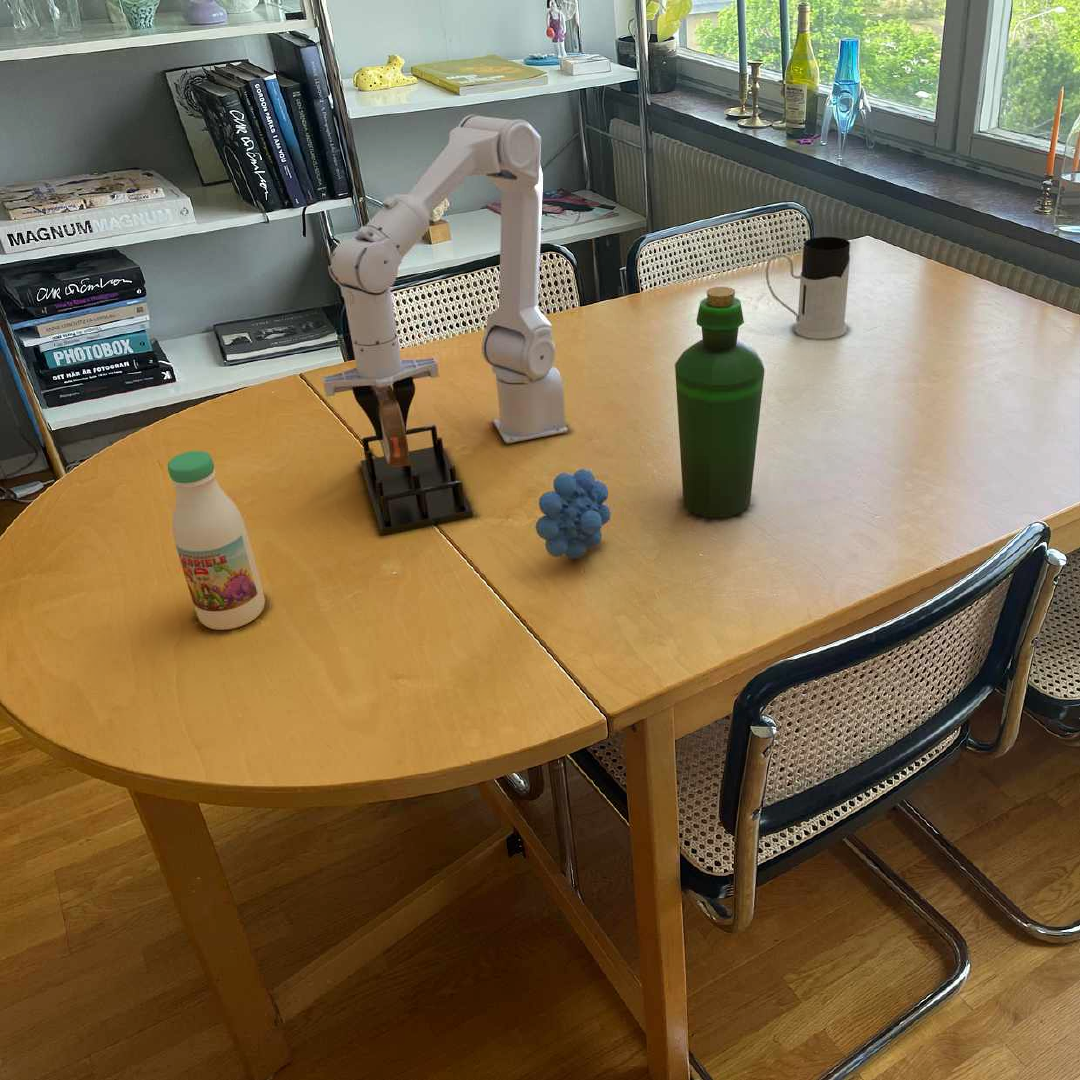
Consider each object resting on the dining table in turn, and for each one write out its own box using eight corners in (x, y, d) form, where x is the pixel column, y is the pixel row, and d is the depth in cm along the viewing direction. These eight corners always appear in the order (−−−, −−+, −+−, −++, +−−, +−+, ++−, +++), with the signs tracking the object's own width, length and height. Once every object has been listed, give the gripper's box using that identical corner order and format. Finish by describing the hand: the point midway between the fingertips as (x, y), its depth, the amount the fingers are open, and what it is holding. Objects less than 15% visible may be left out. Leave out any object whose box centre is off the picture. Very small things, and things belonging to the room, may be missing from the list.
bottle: (764, 487, 135) (775, 277, 120) (751, 529, 127) (760, 310, 112) (684, 479, 138) (684, 274, 123) (665, 520, 130) (663, 305, 115)
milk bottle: (205, 596, 123) (160, 446, 112) (270, 589, 123) (231, 439, 113) (192, 635, 116) (143, 480, 106) (261, 627, 117) (218, 472, 106)
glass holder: (852, 337, 175) (860, 249, 167) (767, 342, 176) (771, 255, 168) (840, 318, 183) (847, 234, 175) (759, 324, 183) (762, 239, 175)
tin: (412, 477, 131) (408, 416, 127) (387, 480, 131) (383, 419, 126) (394, 428, 144) (390, 371, 139) (371, 431, 143) (367, 374, 139)
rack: (443, 451, 151) (439, 420, 148) (473, 516, 134) (469, 483, 131) (361, 466, 148) (355, 435, 146) (381, 535, 132) (375, 502, 129)
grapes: (568, 592, 118) (562, 502, 112) (527, 571, 123) (519, 483, 116) (635, 549, 125) (633, 461, 118) (594, 530, 129) (590, 444, 123)
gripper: (319, 358, 124) (339, 458, 131) (437, 338, 127) (450, 437, 134) (314, 338, 130) (333, 435, 137) (427, 319, 133) (440, 415, 140)
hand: (390, 434), depth 136 cm, fingers closed on tin, 2 cm apart
